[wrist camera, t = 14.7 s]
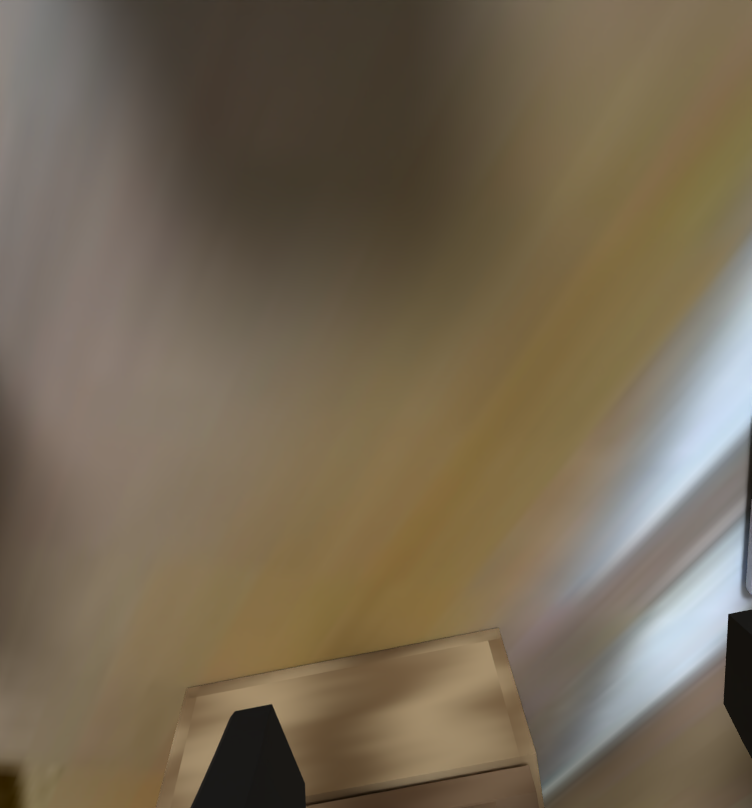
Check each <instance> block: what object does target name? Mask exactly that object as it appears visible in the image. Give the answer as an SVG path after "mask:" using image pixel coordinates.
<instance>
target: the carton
mask: <svg viewBox="0 0 752 808" xmlns="http://www.w3.org/2000/svg"><path fill="white" fill-rule="evenodd" d="M269 704H272V705H273V708H274V710H275V712H276V715H277V717H278V720H279V722H280V724H281V727H282V729H283V732H284V734H285V736H286V739H287V741H288V744H289V746H290V748H291V751H292V753H293V756H294V758H295V760H296V763H297V765H298V768H299V770H300V772H301V775H302V777H303V780H304V782H305V795H306V806H310V805H315V804H320V803H326V802H331V801H337V800H342V799H348V798H353V797H358V796H364V795H369V794H375V793H380V792H386V791H391V790H397V789H402V788H407V787H413V786H418V785H424V784H429V783H435V782H440V781H445V780H451V779H456V778H462V777H467V776H473V775H478V774H483V773H489V772H494V771H500V770H505V769H511V768H516V767H521V766H527V765H529V767H530V770H531V774H532V777H533V781H534V784H535V788H536V792H537V798H538V804H539V808H544V803H543V796H542V789H541V783H540V776H539V769H538V763H537V756H536V751H535V748H534V745H533V741H532V738H531V735H530V731H529V728H528V725H527V721H526V718H525V715H524V711H523V708H522V705H521V701H520V698H519V695H518V691H517V688H516V684H515V681H514V678H513V674H512V671H511V668H510V664H509V661H508V658H507V654H506V651H505V648H504V644H503V641H502V638H501V634H500V631H499V628H495V629H489V630H484V631H479V632H474V633H469V634H464V635H458V636H453V637H448V638H443V639H438V640H433V641H428V642H422V643H417V644H412V645H407V646H402V647H397V648H392V649H386V650H381V651H376V652H371V653H366V654H361V655H356V656H350V657H345V658H340V659H335V660H330V661H325V662H319V663H314V664H309V665H304V666H299V667H294V668H289V669H283V670H278V671H273V672H268V673H263V674H258V675H253V676H247V677H242V678H237V679H232V680H227V681H222V682H216V683H211V684H206V685H201V686H196V687H191V688H187V689H186V693H185V696H184V700H183V704H182V708H181V712H180V716H179V720H178V724H177V727H176V731H175V735H174V739H173V743H172V747H171V751H170V755H169V759H168V762H167V766H166V770H165V774H164V778H163V782H162V786H161V790H160V794H159V797H158V801H157V805H156V808H190V807H191V805H192V803H193V801H194V799H195V796H196V794H197V792H198V790H199V788H200V785H201V783H202V781H203V779H204V777H205V774H206V772H207V770H208V768H209V765H210V763H211V761H212V758H213V756H214V754H215V751H216V749H217V747H218V745H219V742H220V740H221V738H222V735H223V733H224V730H225V728H226V726H227V723H228V721H229V719H230V717H231V715H232V714H233V713H234V712H235V711H238V710H243V709H249V708H254V707H259V706H264V705H269Z"/></svg>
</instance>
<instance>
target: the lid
mask: <svg viewBox="0 0 752 808" xmlns="http://www.w3.org/2000/svg"><path fill="white" fill-rule="evenodd" d="M306 808H539V804H538V798H537V792H536V788H535V784H534V781H533V777H532V774H531V770H530V767H529V765H527V766H521V767H516V768H511V769H505V770H500V771H494V772H489V773H483V774H478V775H473V776H467V777H462V778H456V779H451V780H445V781H440V782H435V783H429V784H424V785H418V786H413V787H407V788H402V789H397V790H391V791H386V792H380V793H375V794H369V795H364V796H358V797H353V798H348V799H342V800H337V801H331V802H326V803H320V804H315V805H310V806H306Z"/></svg>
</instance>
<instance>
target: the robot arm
mask: <svg viewBox="0 0 752 808" xmlns="http://www.w3.org/2000/svg"><path fill="white" fill-rule="evenodd" d="M746 589H747V590H748V591H749V593H750V594H751V595H752V501H751V516H750V530H749V545H748V560H747V575H746ZM724 705H725V707H726V709H727V711H728V713H729V715H730V717H731V719H732V721H733V723H734V725H735V727H736V729H737V731H738V733H739V735H740V737H741V739H742V741H743V743H744V745H745V747H746V749H747V750H748V752H749V754H750V756H751V758H752V610H747V611H742V612H737V613H732V614H728V633H727V651H726V669H725V687H724ZM190 808H306V795H305V782H304V780H303V777H302V775H301V772H300V770H299V768H298V765H297V763H296V760H295V758H294V756H293V753H292V751H291V748H290V746H289V744H288V741H287V739H286V736H285V734H284V732H283V729H282V727H281V724H280V722H279V720H278V717H277V715H276V712H275V710H274V708H273V705H272V704H269V705H264V706H259V707H254V708H249V709H243V710H238V711H235V712H234V713H233V714H232V715H231V717H230V719H229V721H228V723H227V726H226V728H225V730H224V733H223V735H222V738H221V740H220V742H219V745H218V747H217V749H216V751H215V754H214V756H213V758H212V761H211V763H210V765H209V768H208V770H207V772H206V774H205V777H204V779H203V781H202V783H201V785H200V788H199V790H198V792H197V794H196V796H195V799H194V801H193V803H192V805H191V807H190Z"/></svg>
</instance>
